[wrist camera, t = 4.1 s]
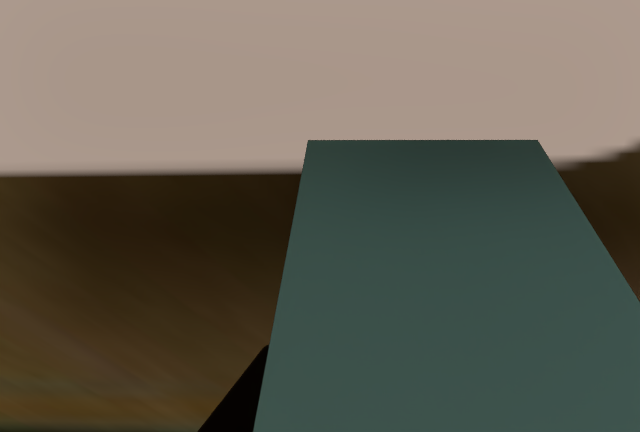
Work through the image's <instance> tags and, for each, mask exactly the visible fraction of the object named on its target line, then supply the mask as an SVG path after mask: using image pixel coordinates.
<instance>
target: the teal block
mask: <svg viewBox="0 0 640 432" xmlns="http://www.w3.org/2000/svg"><path fill="white" fill-rule="evenodd" d="M253 432H640V302H639V300H638V299H637V297H636V295H635V294H634V292H633V291H632V289H631V288H630V286H629V284H628V283H627V281H626V280H625V278H624V276H623V275H622V273H621V272H620V270H619V269H618V267H617V265H616V264H615V262H614V261H613V259H612V257H611V256H610V254H609V253H608V251H607V249H606V248H605V246H604V245H603V243H602V242H601V240H600V238H599V237H598V235H597V234H596V232H595V230H594V229H593V227H592V226H591V224H590V222H589V221H588V219H587V218H586V216H585V215H584V213H583V211H582V210H581V208H580V207H579V205H578V203H577V202H576V200H575V199H574V197H573V196H572V194H571V192H570V191H569V189H568V188H567V186H566V184H565V183H564V181H563V180H562V178H561V176H560V175H559V173H558V172H557V170H556V169H555V167H554V165H553V164H552V162H551V161H550V159H549V157H548V156H547V154H546V153H545V151H544V150H543V148H542V146H541V145H540V143H539V142H538V140H308V143H307V148H306V154H305V159H304V164H303V170H302V175H301V180H300V186H299V191H298V196H297V202H296V207H295V212H294V217H293V223H292V228H291V233H290V239H289V244H288V249H287V255H286V260H285V265H284V271H283V276H282V281H281V286H280V292H279V297H278V302H277V308H276V313H275V318H274V324H273V329H272V334H271V340H270V345H269V350H268V355H267V361H266V366H265V371H264V377H263V382H262V387H261V393H260V398H259V403H258V409H257V414H256V419H255V425H254V430H253Z"/></svg>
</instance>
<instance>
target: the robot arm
mask: <svg viewBox="0 0 640 432" xmlns="http://www.w3.org/2000/svg"><path fill="white" fill-rule="evenodd" d="M268 350H269V345H266V346H265V347H264V348H263V349H262V350H261V351H260V353H259V354H258V355H257V356H256V358H255V359H254V360H253V362H252V363H251V364H250V365H249V367H248V368H247V369H246V370H245V372H244V373H243V374H242V376H241V377H240V378H239V379H238V381H237V382H236V383H235V385H234V386H233V387H232V388H231V390H230V391H229V392H228V393H227V395H226V396H225V397H224V399H223V400H222V401H221V402H220V404H219V405H218V406H217V407H216V409H215V410H214V411H213V413H212V414H211V415H210V416H209V418H208V419H207V420H206V422H205V423H204V424H203V425H202V427H201V428H200V429H199V430H198V432H253V430H254V425H255V419H256V414H257V409H258V403H259V398H260V393H261V387H262V382H263V377H264V371H265V366H266V361H267V355H268Z"/></svg>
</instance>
